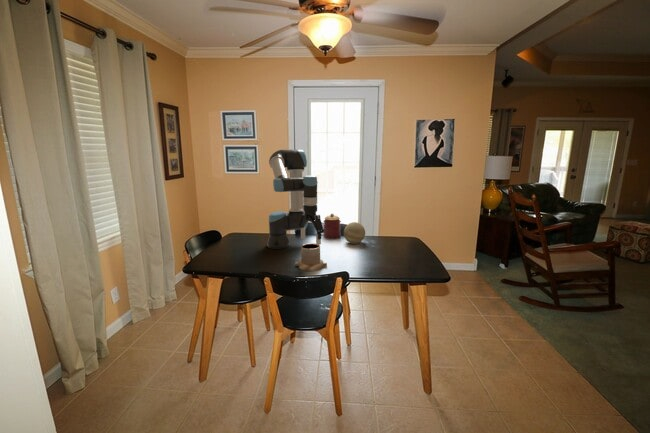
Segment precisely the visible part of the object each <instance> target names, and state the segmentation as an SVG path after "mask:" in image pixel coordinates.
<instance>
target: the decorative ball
mask: <svg viewBox="0 0 650 433" xmlns="http://www.w3.org/2000/svg"><path fill="white" fill-rule="evenodd" d="M343 236H344V238H345V240H346V241H347V242H348V243H349V244H353V245H355V244H356V245H357V244H360V243H361V242H362V241H363V240H364V239H365V236H366V228H365V227H364V225H362V223H360V222H356V221H355V222H349V223H348V224H347V225H346V226H345V228H344V229H343Z"/></svg>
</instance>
